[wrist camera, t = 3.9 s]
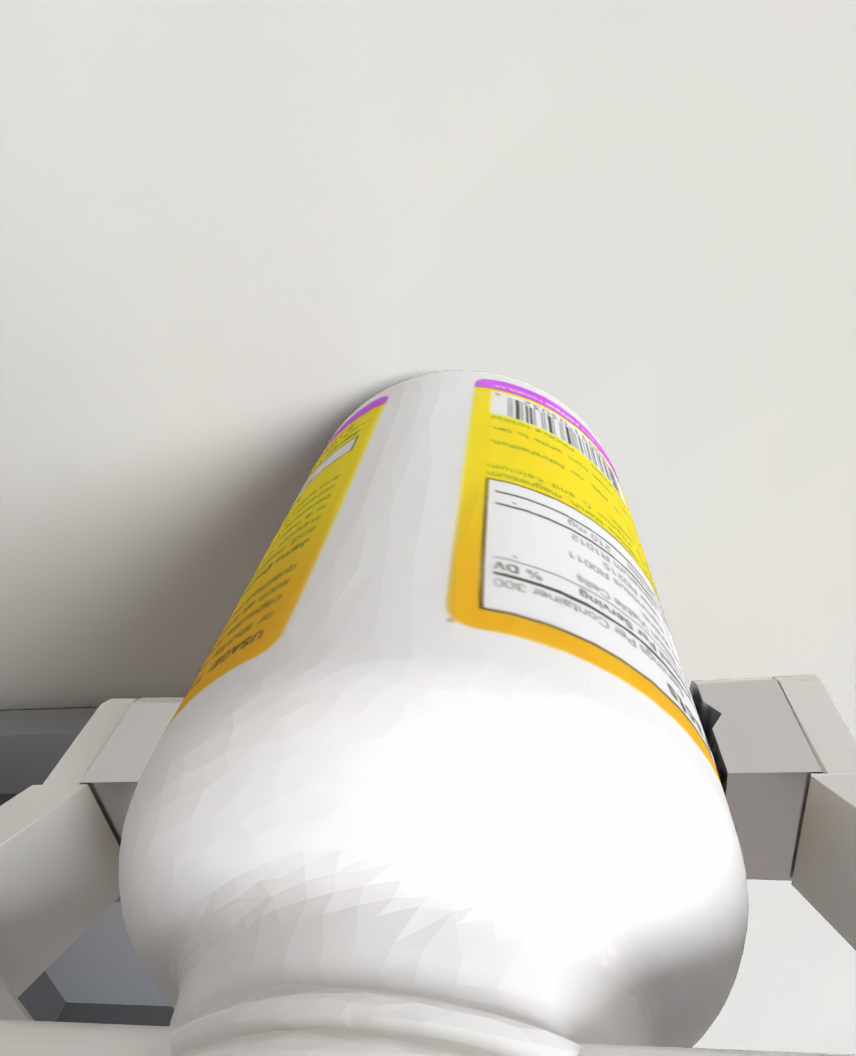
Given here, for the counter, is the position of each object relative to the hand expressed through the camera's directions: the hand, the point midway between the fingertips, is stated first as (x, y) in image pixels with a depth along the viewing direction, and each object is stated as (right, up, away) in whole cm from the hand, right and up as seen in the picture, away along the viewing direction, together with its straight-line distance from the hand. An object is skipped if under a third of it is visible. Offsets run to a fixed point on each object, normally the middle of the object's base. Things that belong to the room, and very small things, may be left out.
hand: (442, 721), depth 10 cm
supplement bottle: (+1, +3, +6) cm, 7 cm away
